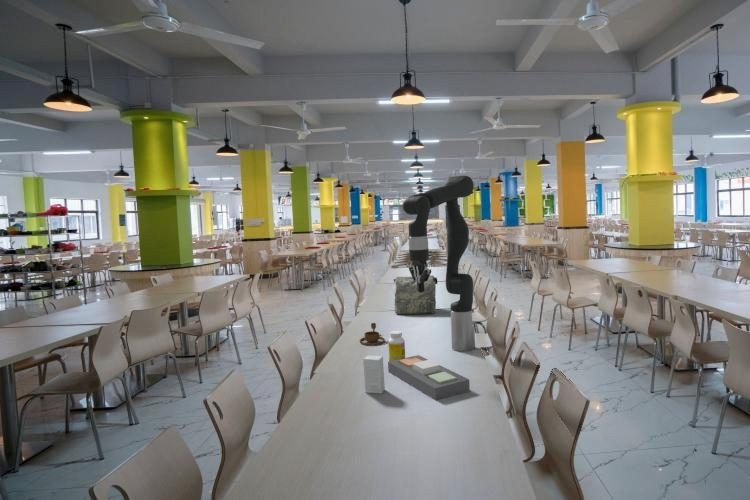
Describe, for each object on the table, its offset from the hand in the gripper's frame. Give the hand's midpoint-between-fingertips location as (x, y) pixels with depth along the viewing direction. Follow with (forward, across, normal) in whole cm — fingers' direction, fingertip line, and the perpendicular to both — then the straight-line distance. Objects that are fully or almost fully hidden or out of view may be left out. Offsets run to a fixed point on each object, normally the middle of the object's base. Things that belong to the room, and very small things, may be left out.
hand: (420, 291), depth 183 cm
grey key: (+26, -13, +8) cm, 31 cm away
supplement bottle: (+30, +10, +7) cm, 32 cm away
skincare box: (+30, -11, +28) cm, 42 cm away
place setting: (+31, +45, -2) cm, 55 cm away
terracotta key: (+28, -3, +8) cm, 29 cm away
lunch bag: (+32, +83, -50) cm, 102 cm away
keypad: (+30, -14, +8) cm, 34 cm away
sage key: (+28, -23, +8) cm, 38 cm away
